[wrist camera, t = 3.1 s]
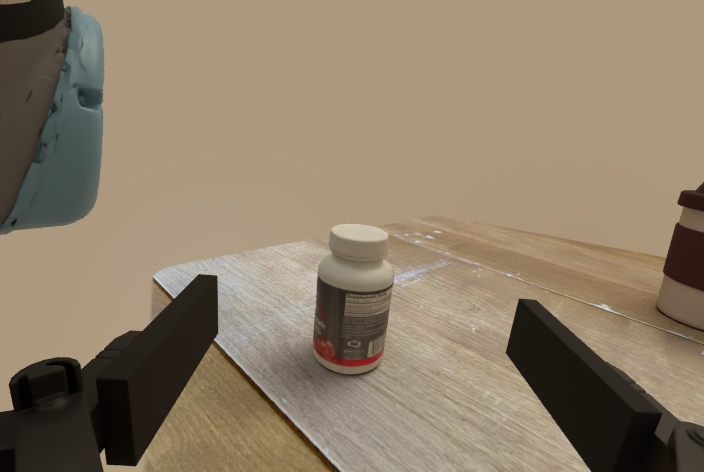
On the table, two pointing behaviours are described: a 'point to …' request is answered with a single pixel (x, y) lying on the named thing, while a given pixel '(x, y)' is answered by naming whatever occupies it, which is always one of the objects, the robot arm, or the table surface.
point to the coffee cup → (686, 264)
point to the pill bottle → (353, 300)
